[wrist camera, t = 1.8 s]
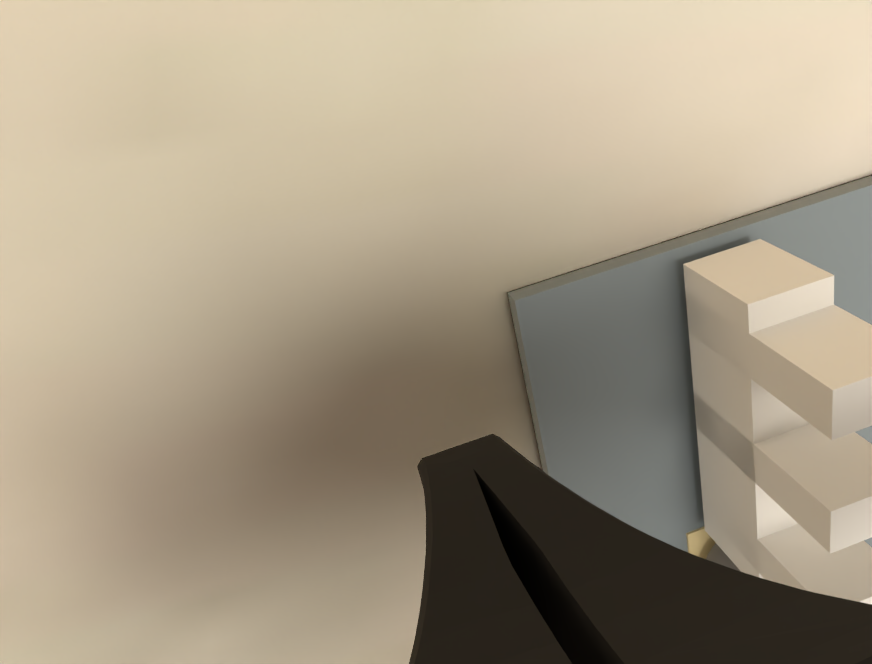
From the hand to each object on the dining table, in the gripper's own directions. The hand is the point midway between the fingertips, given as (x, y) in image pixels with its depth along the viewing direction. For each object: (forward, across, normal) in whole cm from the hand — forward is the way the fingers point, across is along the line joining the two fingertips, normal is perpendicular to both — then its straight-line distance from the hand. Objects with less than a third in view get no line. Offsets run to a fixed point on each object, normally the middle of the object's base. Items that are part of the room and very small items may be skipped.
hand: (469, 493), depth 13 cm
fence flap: (+2, -6, +3) cm, 7 cm away
